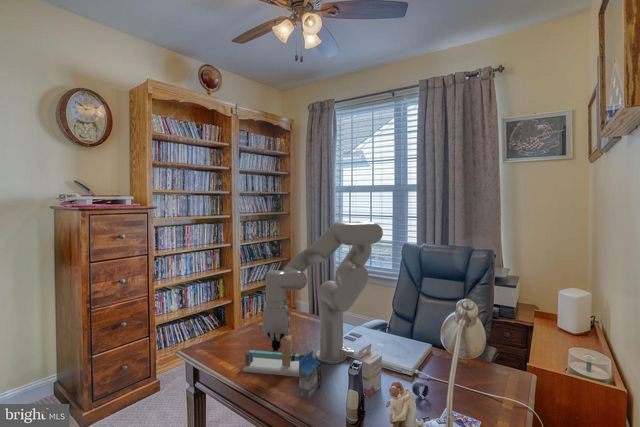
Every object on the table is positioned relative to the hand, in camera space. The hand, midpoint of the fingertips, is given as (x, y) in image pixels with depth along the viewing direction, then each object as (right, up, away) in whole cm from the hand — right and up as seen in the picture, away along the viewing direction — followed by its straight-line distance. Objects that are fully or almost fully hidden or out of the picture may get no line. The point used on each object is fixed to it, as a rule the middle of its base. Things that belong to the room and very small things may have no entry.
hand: (276, 349), depth 127 cm
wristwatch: (+51, -9, -19) cm, 55 cm away
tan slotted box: (+4, -5, 0) cm, 7 cm away
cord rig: (0, -7, 0) cm, 7 cm away
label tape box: (+14, -9, -14) cm, 22 cm away
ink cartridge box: (+34, -9, -14) cm, 38 cm away
